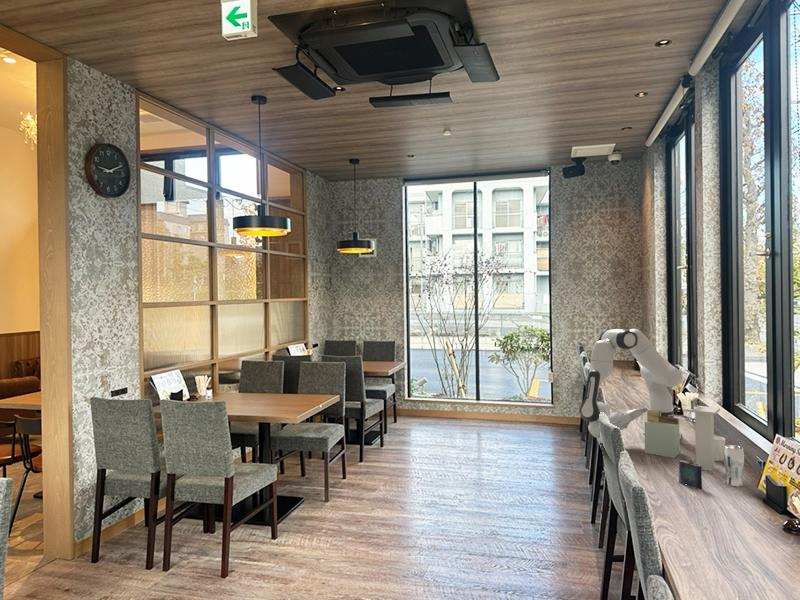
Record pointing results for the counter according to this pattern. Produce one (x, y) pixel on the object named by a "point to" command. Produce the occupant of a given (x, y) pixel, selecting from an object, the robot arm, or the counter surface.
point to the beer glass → (733, 464)
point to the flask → (690, 473)
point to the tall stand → (704, 433)
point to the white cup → (718, 448)
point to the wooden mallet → (660, 417)
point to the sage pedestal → (662, 439)
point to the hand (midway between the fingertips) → (644, 410)
